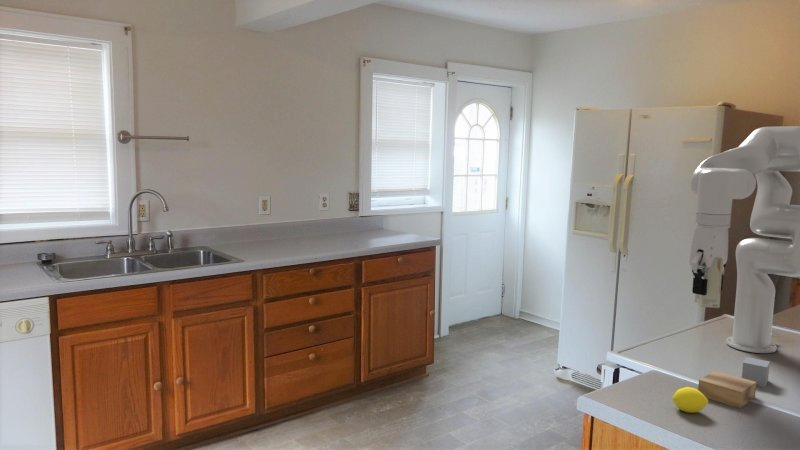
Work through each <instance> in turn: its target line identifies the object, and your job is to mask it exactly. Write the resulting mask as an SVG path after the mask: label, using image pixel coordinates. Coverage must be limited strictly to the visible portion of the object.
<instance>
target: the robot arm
mask: <svg viewBox="0 0 800 450" xmlns="http://www.w3.org/2000/svg"><path fill="white" fill-rule="evenodd" d="M781 172H800V126H799V125H798V126H797V125H791V126H789V125H787V126H785V125H784V126H781V125H780V126H762V127H759V128H756V129H755V130H753V131H752V132H751V133H750V134H749V135H748V136H747V137H746V138H745V139H744V140H743V141H742V142H741V143H740V144H739V145H738V147H735V148H731V149H729V150H725V151H723V152H720V153H718V154H714V155H711V156H709V157H707V158H706V159H705V160H703V161H702V162H701V163H700V164H699V165H698V166H697V167H696V168H695V170H694V171H693V173H692V175H691V178H690V186H689V187H690V190H691V191H692V193H693V194H694V195H696V197H697V198H696V209H695V210H696V211H695V224H694V225H695V227H694V231H693V235H692V239H691V245H690V246H691V247H690V254H689V265H690V268H691V273H692V279H693V280H692V289H691V290H692V294H694V295H695V294H699V295H706V294H707V282H708V279H706V276H707V273H708V270H709V268H713V267H714V264H715V261H716V259H717V258H722V259H723V264H722V279H721V291H723V286H724V275H725V272H726V271H725V269H726V267H727V262H728V260H729V257H728V255H729V229H730V228H731V220H732V210H733V209H732V207H733V200H743V199H746V198H748V197H750V196H751V195H752V194H753V193H754V191H755V189H756V188H757V191H756V195H755V199H754V203H753V208H752V211H751V215H750V221H749V228H750V230H751V232H752V233H754V234H756V235H759V236H764V237H770V238H771V237H772V238H780V239H789V240H791V241H787V240H786V241H785V240H779V239H778V240H777V239H769V238H761V237H750V238H749V237H748V238H745V239H742V240H740V241H739V242H738V243H737V245H736V249H735V261H736V263H735V264H736V272H737V274H736V276H737V277H736V289H735V291H736V293H735V301H734V302H735V303H734V314H733V326H732V335H731V336H728V337H727V338H726V339H725V344H726V345H727V346H729V347H731V348H733V349H736V350H740V351H744V352H748V353H749V352H750V353H754V354H755V353H756V354H772V353H775V352H777V344H775V343H773V342H772V336H773V334H774V331H773V330H772V329H773V320H774V318H773V317H774V310H775V309H774V308H775V301H776V300H775V297H776V287H775V283H774V282H773V281H772V279H771V277H770V276H769V275H776V276H777V275H778V276H784V277H791V278H797V277H798V278H800V204H799V205H798V204H791V199H792V195H793V188H792V186H791V184H790V182H789V181H788V180H787V179H786V177H784V176H783V174H782V173H781ZM756 185H757V187H756ZM704 262H706V265H705V266H703V265H700V264H703V263H704ZM701 269H704V271H703V272H702V270H701ZM768 274H769V275H768Z"/></svg>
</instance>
